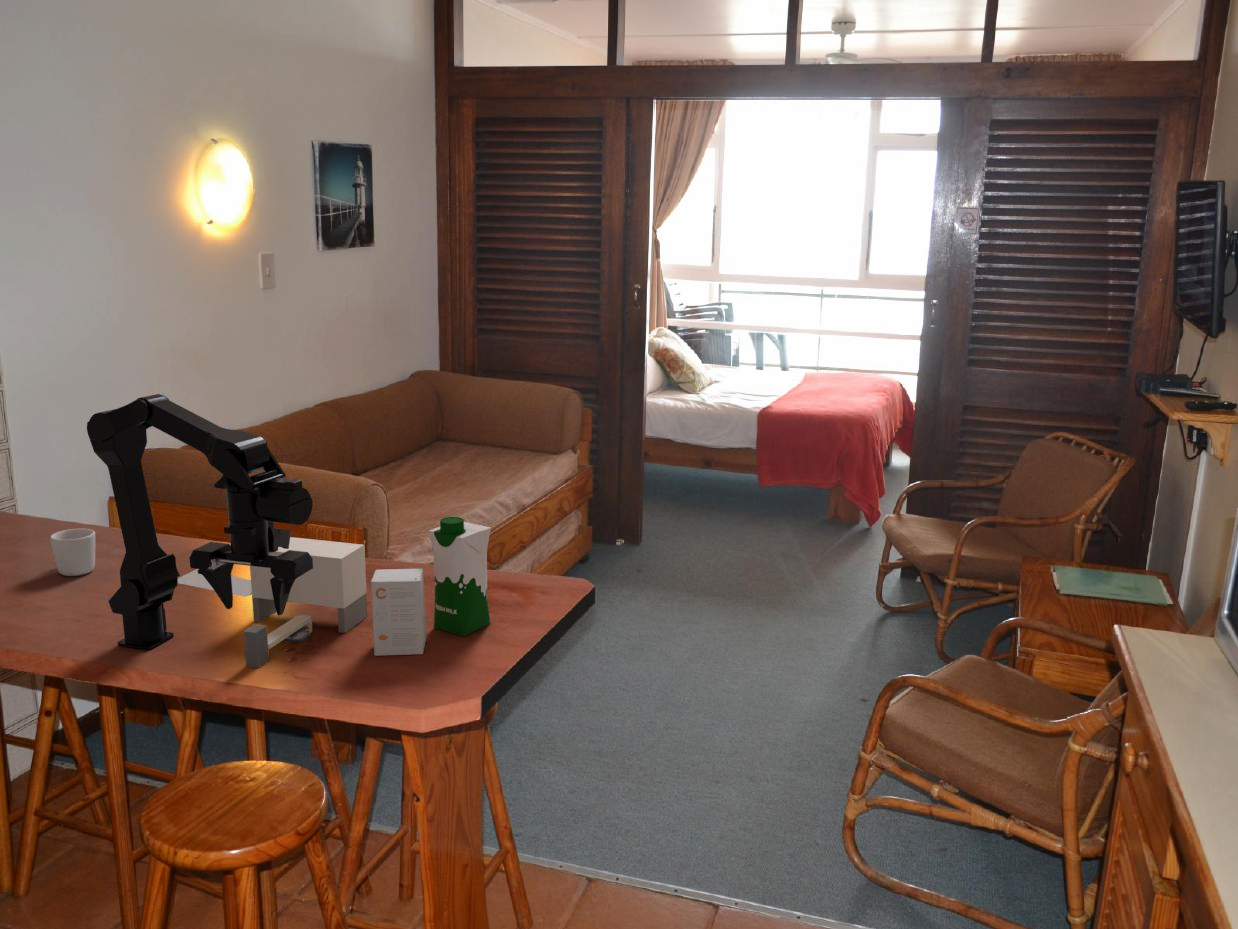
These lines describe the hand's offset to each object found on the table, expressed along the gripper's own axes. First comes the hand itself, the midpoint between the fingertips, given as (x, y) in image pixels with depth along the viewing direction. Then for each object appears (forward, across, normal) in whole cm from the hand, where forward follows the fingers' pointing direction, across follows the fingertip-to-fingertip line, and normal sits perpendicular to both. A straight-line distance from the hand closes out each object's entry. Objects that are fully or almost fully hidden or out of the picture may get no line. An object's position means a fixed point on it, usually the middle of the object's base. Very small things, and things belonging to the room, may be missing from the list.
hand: (254, 611), depth 168 cm
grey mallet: (+9, 0, -7) cm, 11 cm away
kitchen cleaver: (+10, +22, -29) cm, 38 cm away
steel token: (+9, 0, -11) cm, 15 cm away
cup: (+9, +60, -28) cm, 67 cm away
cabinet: (+9, +2, -20) cm, 22 cm away
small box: (+9, -19, -12) cm, 24 cm away
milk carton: (+9, -25, -24) cm, 36 cm away
